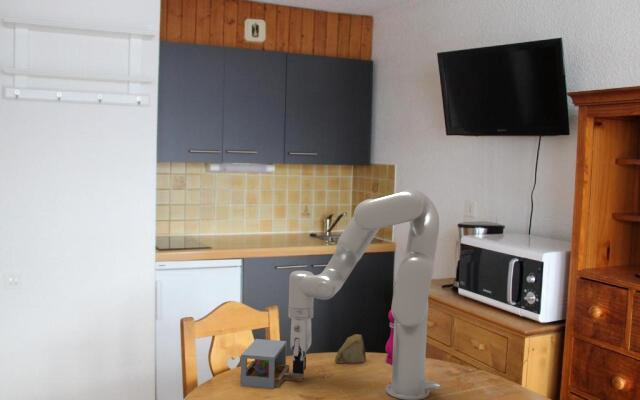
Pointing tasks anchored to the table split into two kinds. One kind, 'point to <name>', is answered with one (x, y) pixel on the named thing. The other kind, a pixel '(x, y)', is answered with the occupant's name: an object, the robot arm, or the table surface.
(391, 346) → the pepper mill
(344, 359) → the rock
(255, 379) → the open box
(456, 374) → the table surface
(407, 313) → the robot arm
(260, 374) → the geometric puzzle
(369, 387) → the table surface
